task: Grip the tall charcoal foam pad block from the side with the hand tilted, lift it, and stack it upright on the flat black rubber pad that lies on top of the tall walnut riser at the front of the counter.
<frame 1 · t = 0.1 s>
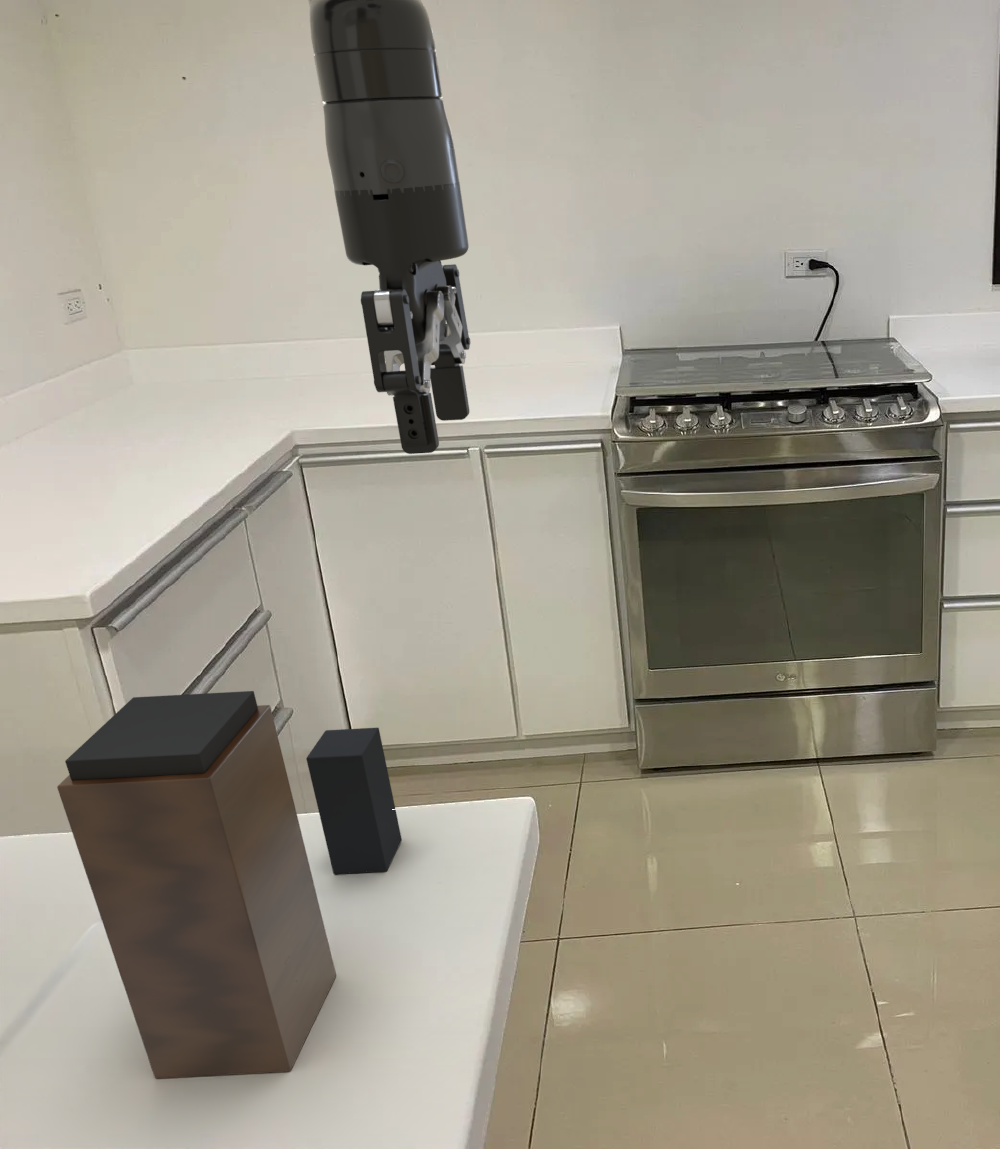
hand: (438, 434, 76), 32 cm above the countertop, tool pointing down, fingers open, 8 cm apart
rubber pad: (169, 742, 62), point 20 cm above the countertop, touching riser
riser: (250, 1024, 69), on the countertop
foam block: (368, 857, 85), on the countertop
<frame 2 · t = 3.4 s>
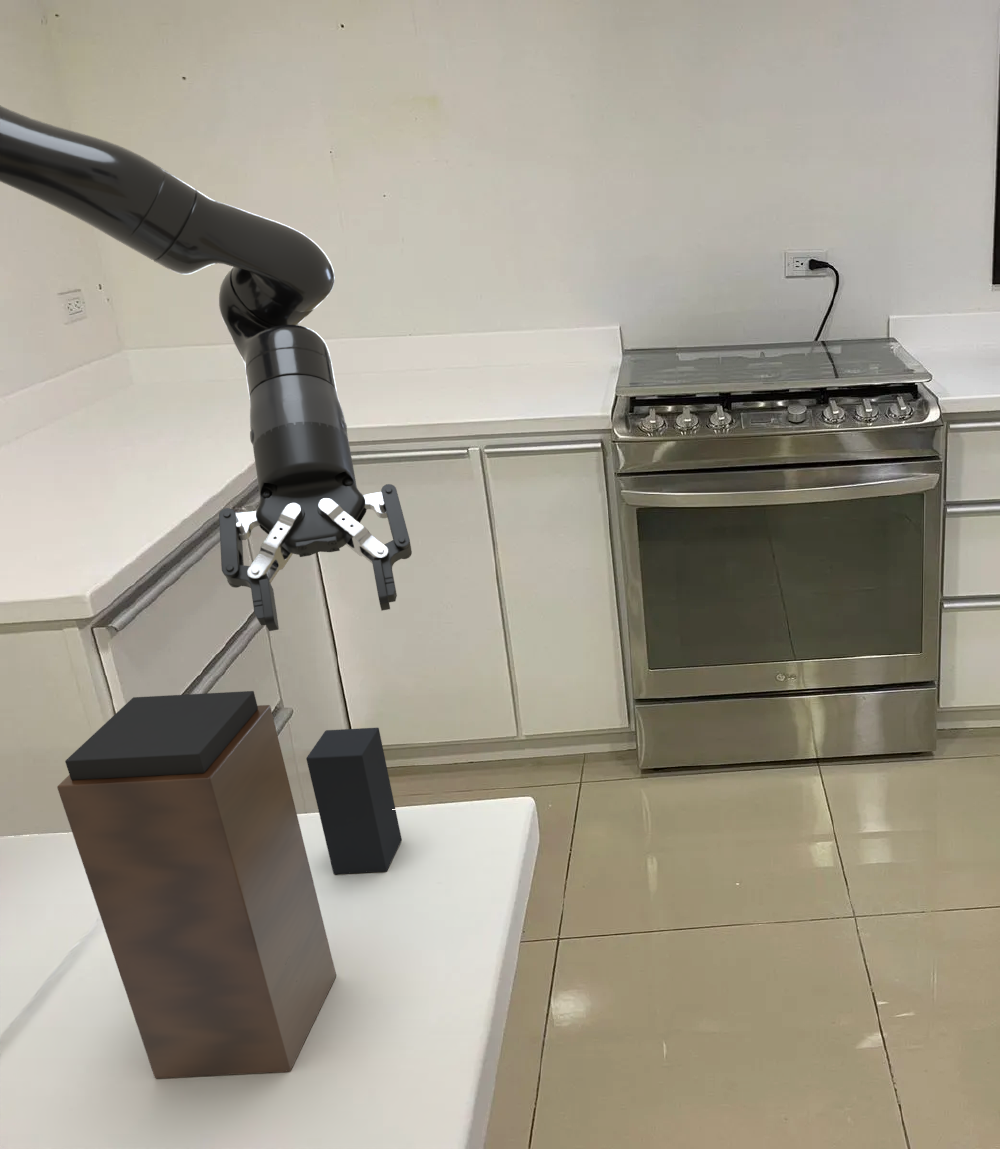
hand: (329, 616, 89), 15 cm above the countertop, tool tilted 45°, fingers open, 8 cm apart
nothing on the countertop moved.
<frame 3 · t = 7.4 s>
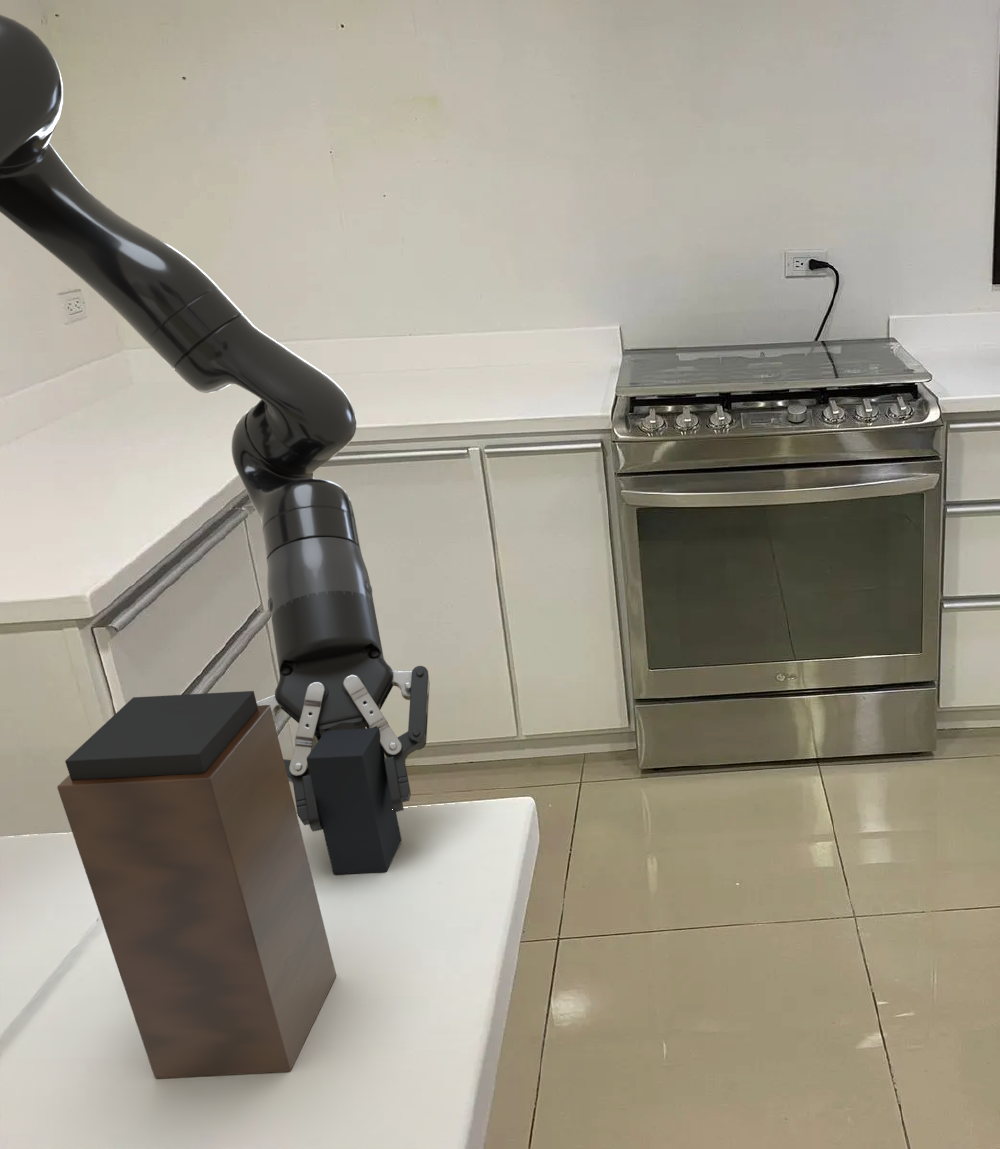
hand: (357, 817, 81), 5 cm above the countertop, tool tilted 45°, fingers closed on foam block, 5 cm apart
foam block: (368, 857, 85), on the countertop, touching gripper
everything else where it was.
when the fingers open (26 cm above the countertop, at t = 17.6 s): foam block stays where it is, resting on rubber pad.
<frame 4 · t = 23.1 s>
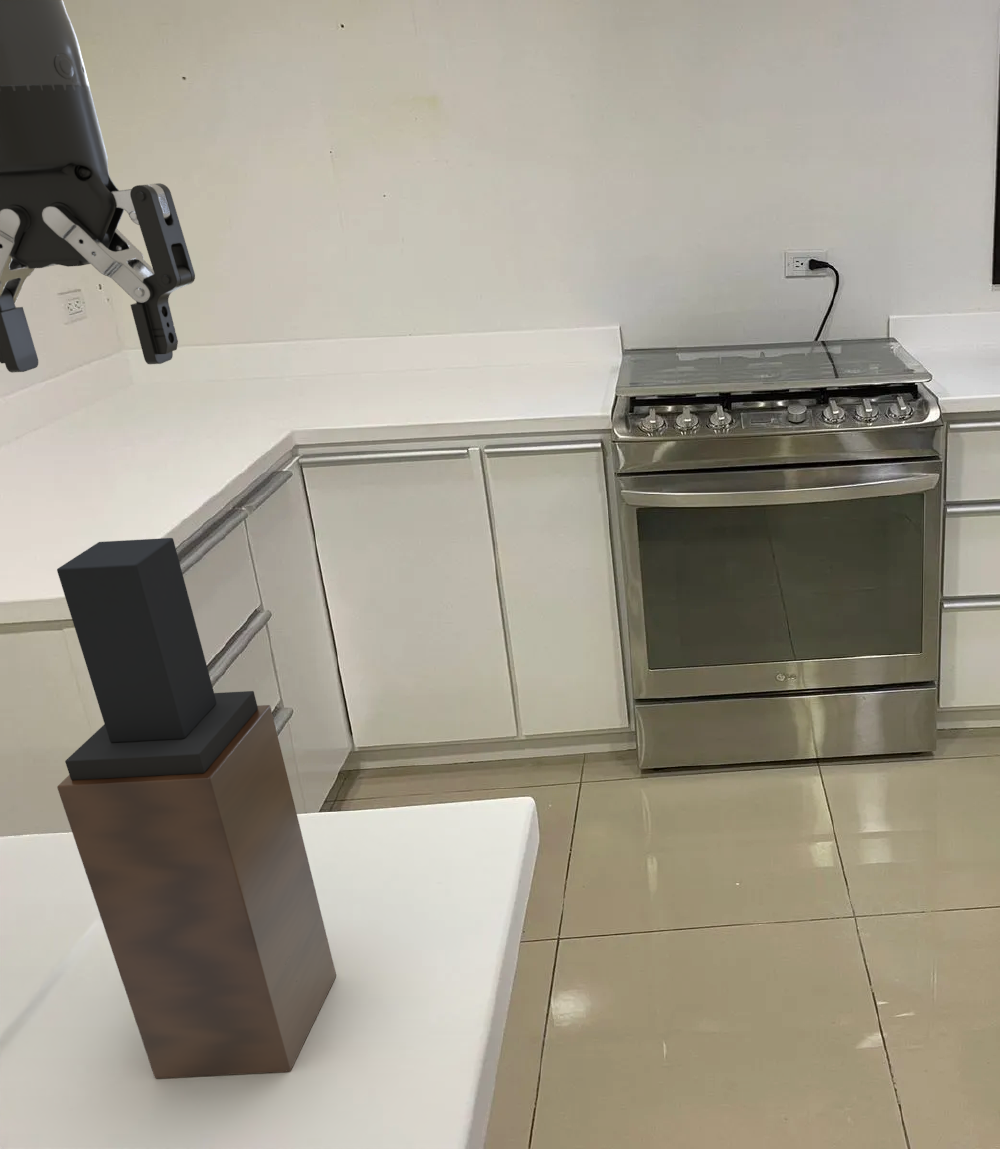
hand: (92, 366, 70), 38 cm above the countertop, tool pointing down, fingers open, 8 cm apart
rubber pad: (169, 742, 62), point 20 cm above the countertop, touching foam block, riser
foam block: (165, 722, 61), point 21 cm above the countertop, touching rubber pad
everything else where it was.
at the end: foam block 0.1 cm off-centre on the rubber pad, point 1.2 cm above the rubber pad's base; foam block tilted 0°; the gripper is holding nothing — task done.
